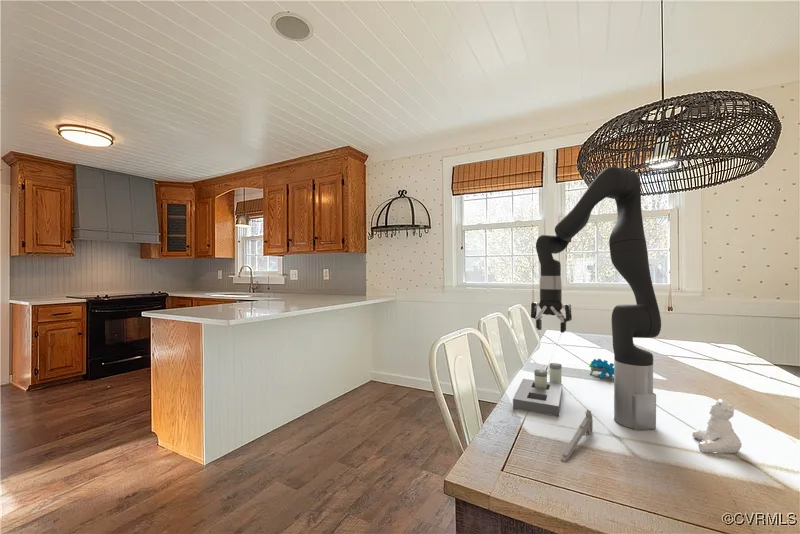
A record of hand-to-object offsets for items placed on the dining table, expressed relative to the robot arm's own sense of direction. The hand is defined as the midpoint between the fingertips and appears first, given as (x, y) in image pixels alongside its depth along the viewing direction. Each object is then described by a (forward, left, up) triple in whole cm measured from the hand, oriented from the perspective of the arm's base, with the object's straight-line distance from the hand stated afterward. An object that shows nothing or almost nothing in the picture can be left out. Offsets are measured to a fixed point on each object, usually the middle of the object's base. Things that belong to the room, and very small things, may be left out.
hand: (550, 331), depth 135 cm
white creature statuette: (-50, -15, -20) cm, 56 cm away
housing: (-16, +13, -20) cm, 28 cm away
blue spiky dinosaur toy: (+5, -25, -20) cm, 33 cm away
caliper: (-45, +18, -20) cm, 52 cm away
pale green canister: (-3, 0, -20) cm, 20 cm away
